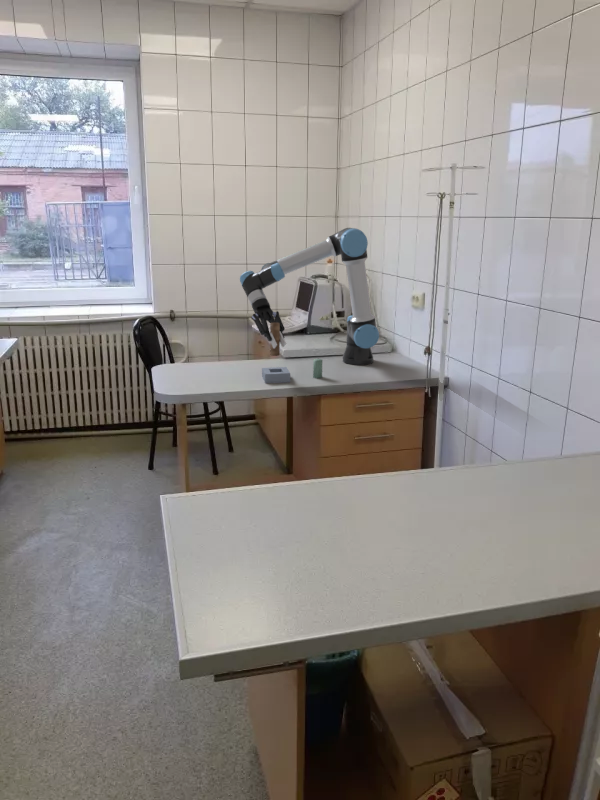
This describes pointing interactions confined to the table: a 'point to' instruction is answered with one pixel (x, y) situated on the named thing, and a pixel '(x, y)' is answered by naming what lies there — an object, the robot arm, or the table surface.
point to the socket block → (276, 375)
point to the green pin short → (317, 368)
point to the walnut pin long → (276, 334)
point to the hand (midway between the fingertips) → (279, 345)
